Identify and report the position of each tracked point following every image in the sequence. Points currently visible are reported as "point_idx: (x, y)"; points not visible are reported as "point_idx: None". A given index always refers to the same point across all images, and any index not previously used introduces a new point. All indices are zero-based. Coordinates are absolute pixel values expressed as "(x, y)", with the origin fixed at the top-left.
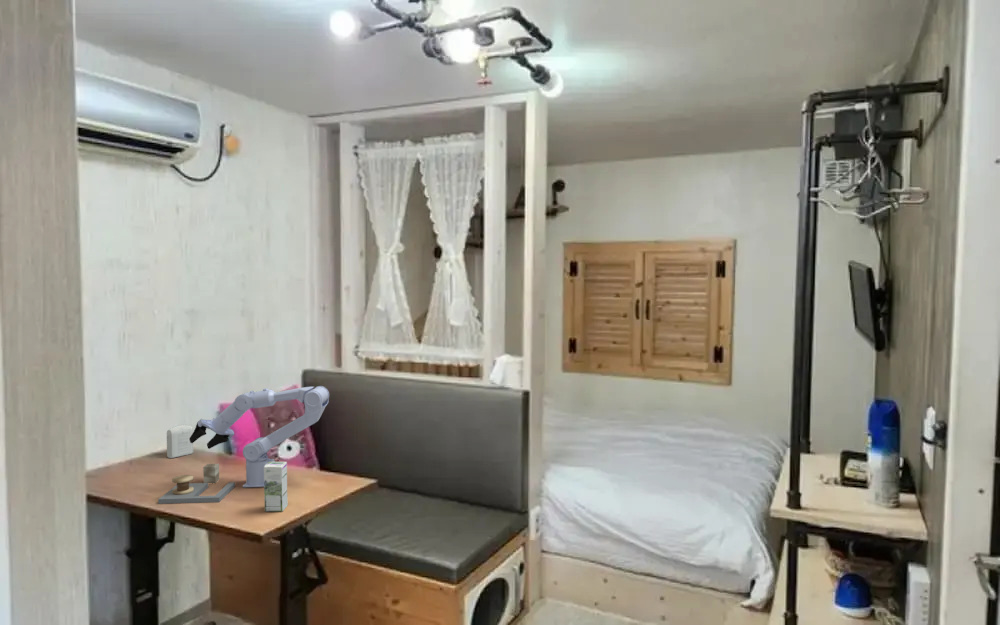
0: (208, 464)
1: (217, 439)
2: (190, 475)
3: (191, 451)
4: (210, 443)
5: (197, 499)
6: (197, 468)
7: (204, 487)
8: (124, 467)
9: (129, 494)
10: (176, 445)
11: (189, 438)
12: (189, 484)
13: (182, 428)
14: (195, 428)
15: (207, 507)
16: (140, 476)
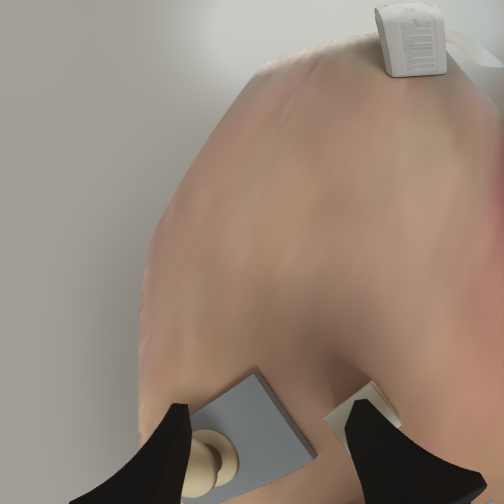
0: (366, 396)
1: (377, 501)
2: (209, 473)
3: (442, 69)
4: (359, 437)
5: None
6: (422, 198)
7: (281, 476)
8: (287, 87)
9: (167, 303)
10: (401, 51)
11: (170, 407)
12: (266, 416)
13: (413, 10)
14: (118, 474)
15: None
16: (269, 166)
